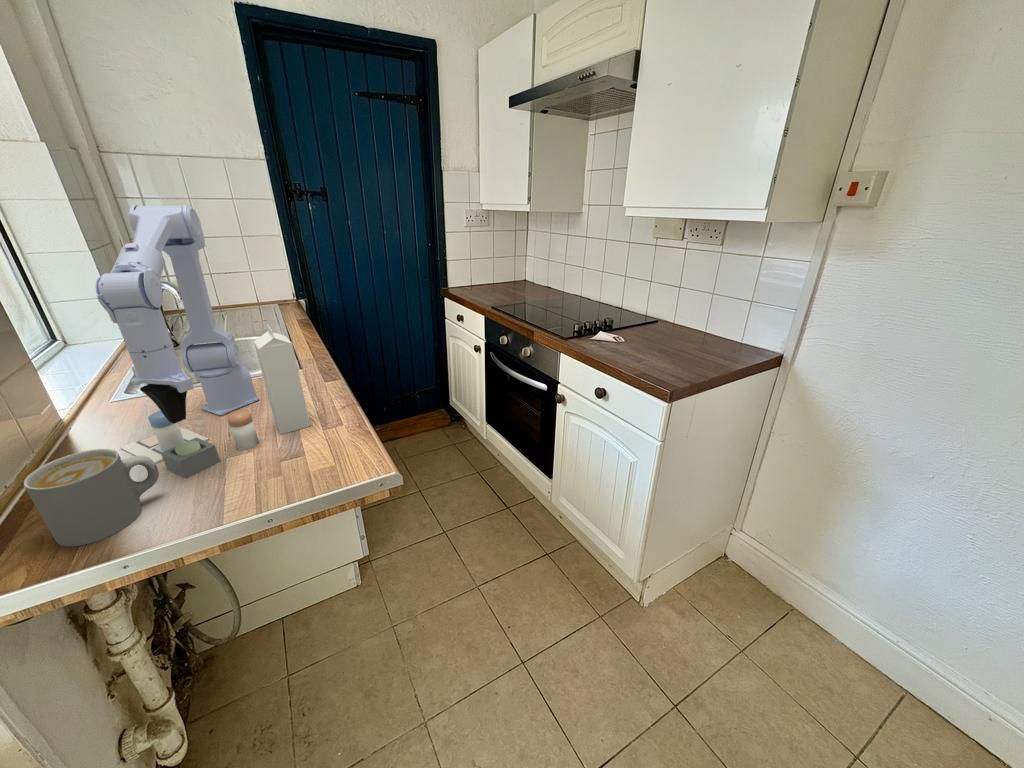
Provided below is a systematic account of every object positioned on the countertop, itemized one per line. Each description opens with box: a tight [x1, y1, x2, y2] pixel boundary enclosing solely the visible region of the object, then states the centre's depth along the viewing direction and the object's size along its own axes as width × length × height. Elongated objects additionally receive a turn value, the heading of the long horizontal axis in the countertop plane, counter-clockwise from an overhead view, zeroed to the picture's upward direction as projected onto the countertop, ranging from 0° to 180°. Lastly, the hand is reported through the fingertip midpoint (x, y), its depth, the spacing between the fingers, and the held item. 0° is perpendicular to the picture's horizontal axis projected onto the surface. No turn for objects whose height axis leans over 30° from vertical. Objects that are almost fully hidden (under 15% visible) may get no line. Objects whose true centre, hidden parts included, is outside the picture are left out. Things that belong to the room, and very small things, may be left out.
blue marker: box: [148, 410, 185, 451], centre depth 82 cm, size 4×4×7 cm
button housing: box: [161, 437, 221, 479], centre depth 78 cm, size 6×6×4 cm
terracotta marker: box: [226, 408, 259, 451], centre depth 83 cm, size 4×4×7 cm
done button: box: [175, 441, 201, 458], centre depth 77 cm, size 4×4×4 cm
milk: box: [253, 324, 311, 435], centre depth 88 cm, size 6×6×22 cm
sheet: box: [120, 426, 209, 465], centre depth 85 cm, size 10×12×1 cm
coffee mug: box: [23, 448, 160, 547], centre depth 64 cm, size 13×10×10 cm
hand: (177, 420), depth 75 cm, fingers closed
